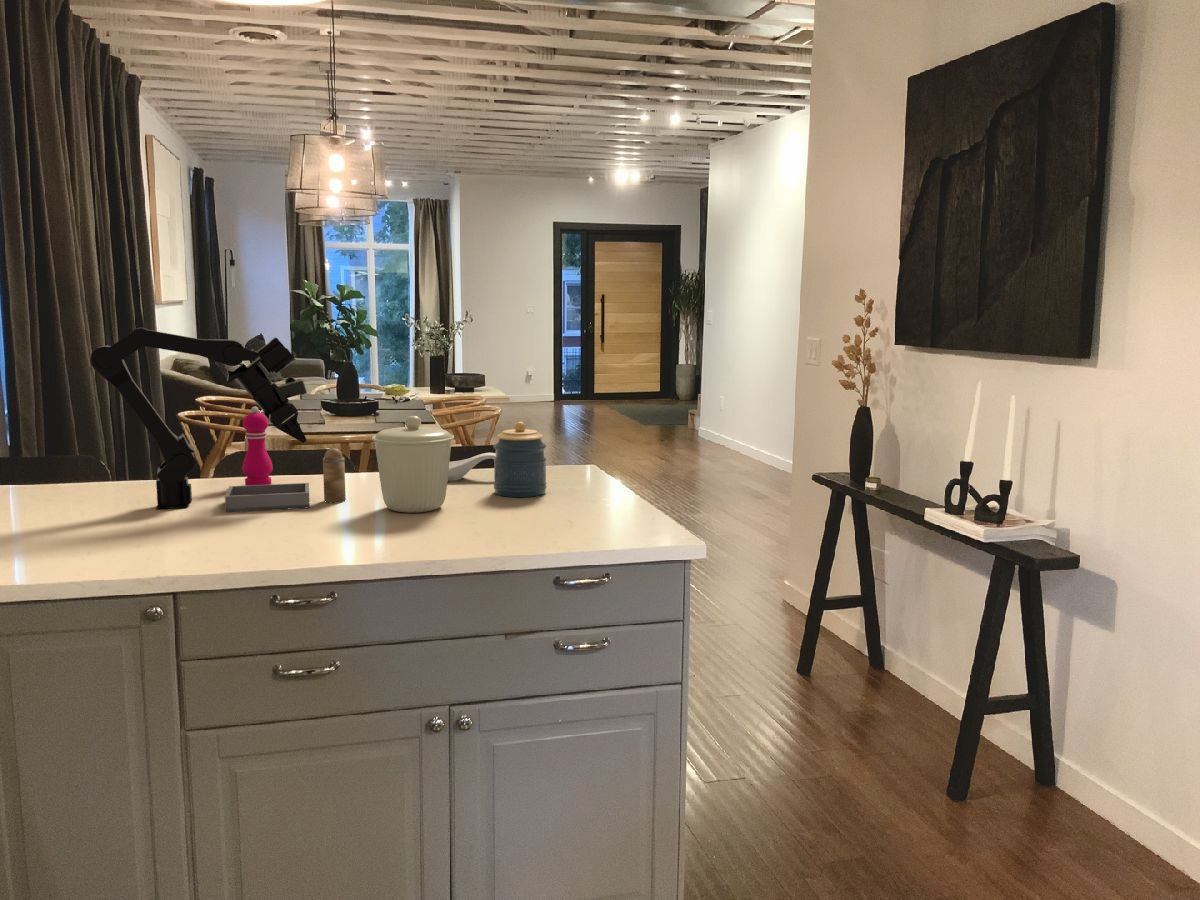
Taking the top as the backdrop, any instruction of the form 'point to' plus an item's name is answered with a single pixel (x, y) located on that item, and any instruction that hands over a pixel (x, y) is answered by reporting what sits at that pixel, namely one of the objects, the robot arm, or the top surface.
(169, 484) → the robot arm
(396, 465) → the canister
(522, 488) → the canister
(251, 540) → the top surface
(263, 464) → the pepper mill
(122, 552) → the top surface
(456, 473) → the spoon rest
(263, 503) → the dish
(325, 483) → the shaker
